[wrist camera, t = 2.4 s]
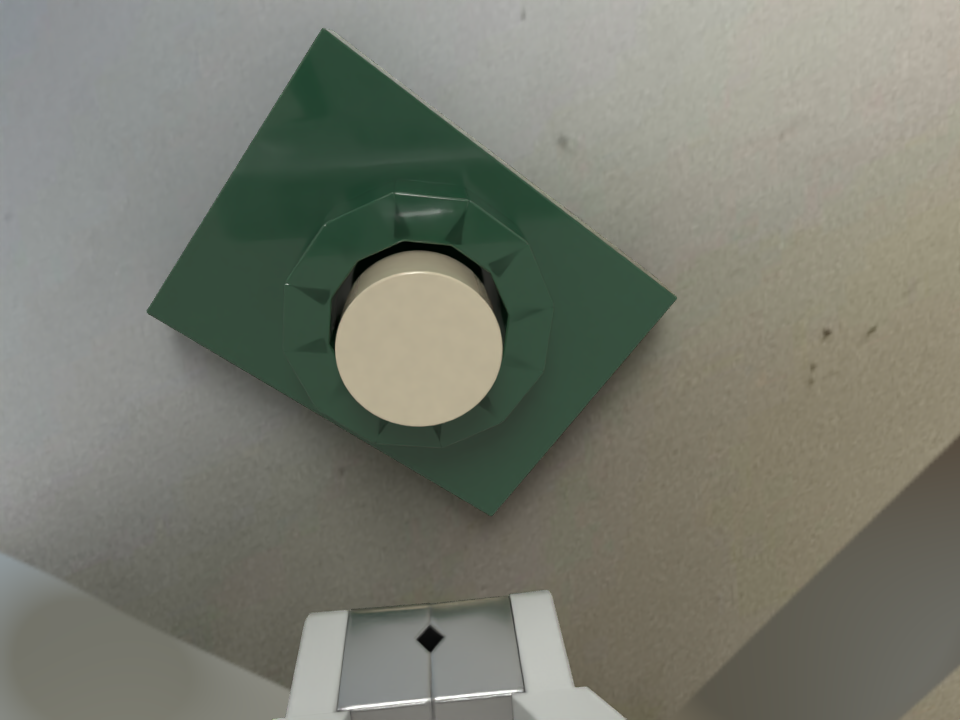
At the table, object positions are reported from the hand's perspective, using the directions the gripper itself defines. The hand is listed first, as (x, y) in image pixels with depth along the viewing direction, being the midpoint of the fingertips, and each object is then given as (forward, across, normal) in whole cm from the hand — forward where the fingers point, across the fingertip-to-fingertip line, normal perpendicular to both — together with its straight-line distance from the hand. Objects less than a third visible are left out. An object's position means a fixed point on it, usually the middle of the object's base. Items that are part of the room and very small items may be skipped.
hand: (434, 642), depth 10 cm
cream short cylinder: (+11, 0, 0) cm, 11 cm away
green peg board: (+15, 0, 0) cm, 15 cm away
